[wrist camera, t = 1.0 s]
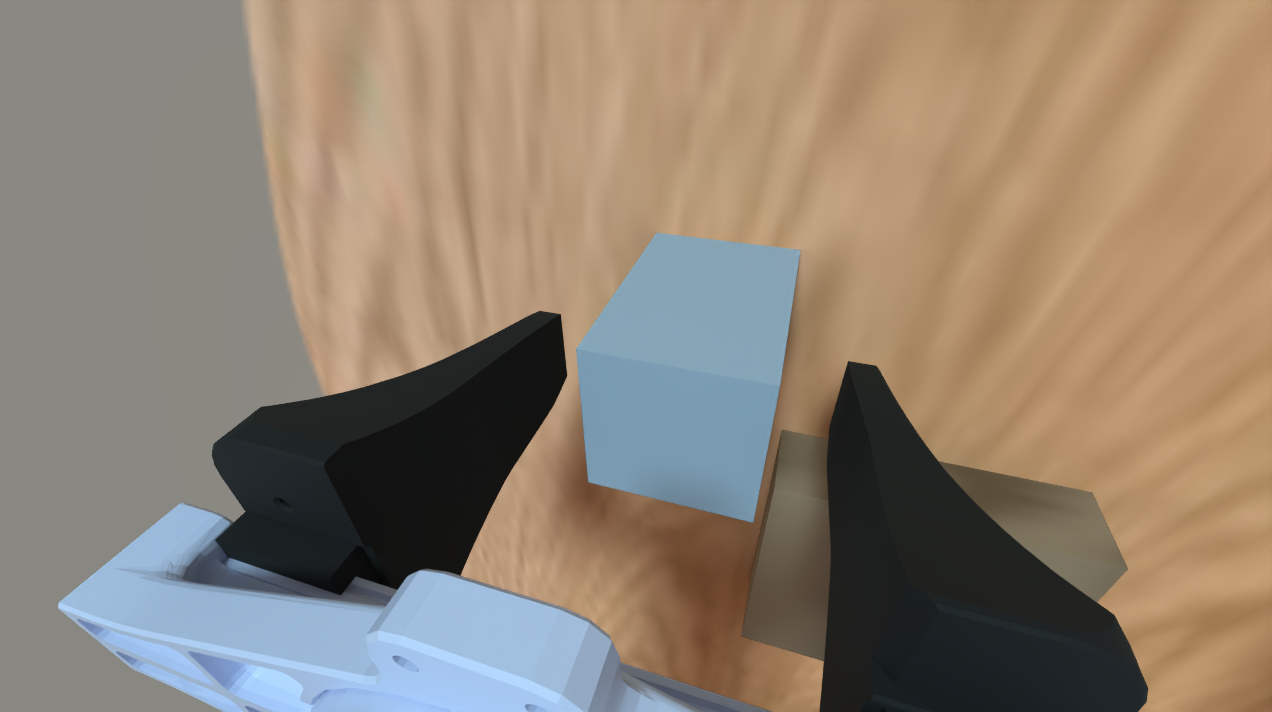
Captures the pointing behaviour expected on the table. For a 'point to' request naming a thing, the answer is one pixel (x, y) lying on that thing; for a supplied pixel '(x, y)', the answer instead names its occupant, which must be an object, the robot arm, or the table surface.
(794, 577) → the taupe plinth
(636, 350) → the slate-blue block
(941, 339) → the table surface
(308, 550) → the robot arm
